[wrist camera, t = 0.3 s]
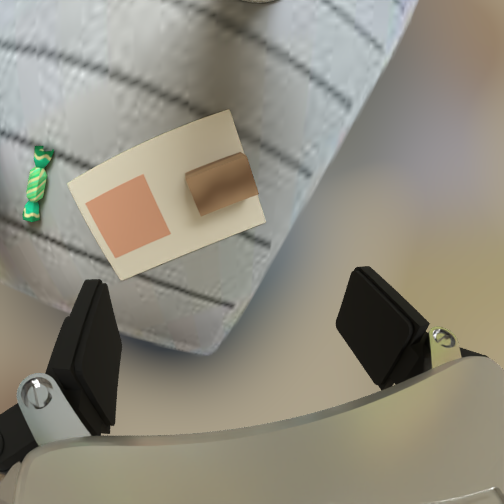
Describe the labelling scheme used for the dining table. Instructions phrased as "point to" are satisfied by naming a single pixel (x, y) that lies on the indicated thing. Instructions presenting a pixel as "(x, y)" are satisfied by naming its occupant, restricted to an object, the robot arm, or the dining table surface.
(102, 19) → the dining table surface
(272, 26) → the dining table surface
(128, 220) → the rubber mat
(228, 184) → the walnut card box
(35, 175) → the candy
